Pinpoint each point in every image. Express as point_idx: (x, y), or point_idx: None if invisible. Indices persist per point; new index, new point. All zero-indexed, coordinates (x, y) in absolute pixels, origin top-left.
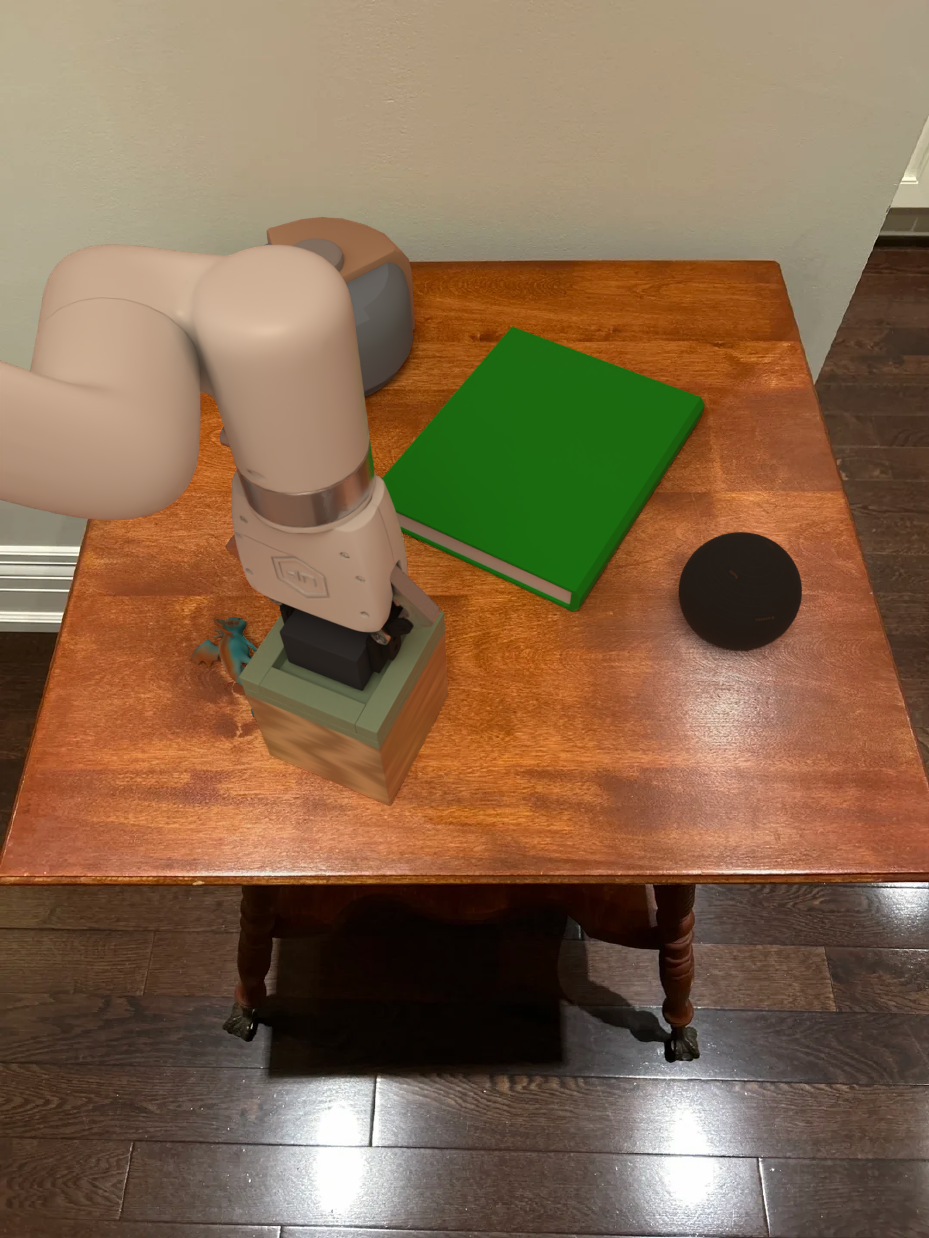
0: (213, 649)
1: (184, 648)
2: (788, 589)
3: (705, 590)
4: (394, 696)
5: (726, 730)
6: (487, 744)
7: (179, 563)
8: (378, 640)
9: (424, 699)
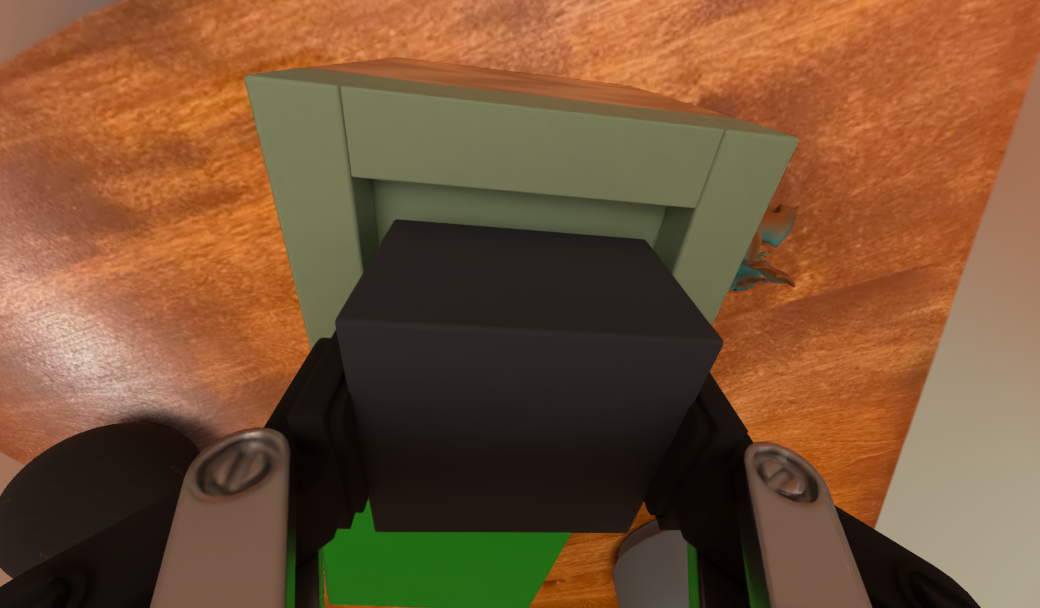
0: (764, 234)
1: (804, 224)
2: None
3: (95, 516)
4: (288, 232)
5: (54, 332)
6: None
7: (822, 332)
8: (270, 441)
9: None
